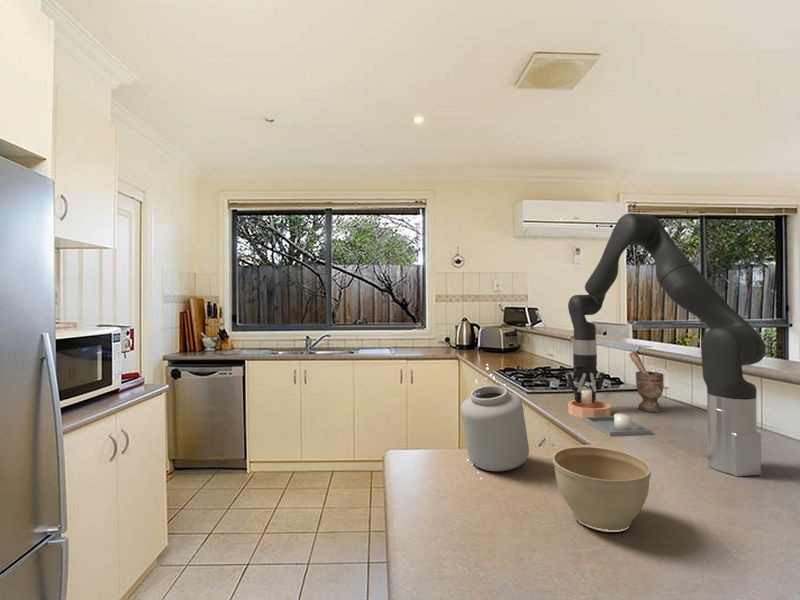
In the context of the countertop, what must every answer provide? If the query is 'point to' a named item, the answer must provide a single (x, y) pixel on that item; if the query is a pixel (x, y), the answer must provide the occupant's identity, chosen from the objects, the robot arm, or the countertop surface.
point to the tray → (607, 426)
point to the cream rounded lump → (586, 395)
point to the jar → (495, 428)
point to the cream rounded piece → (622, 422)
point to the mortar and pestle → (648, 386)
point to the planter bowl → (602, 485)
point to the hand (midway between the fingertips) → (585, 402)
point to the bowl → (589, 409)
